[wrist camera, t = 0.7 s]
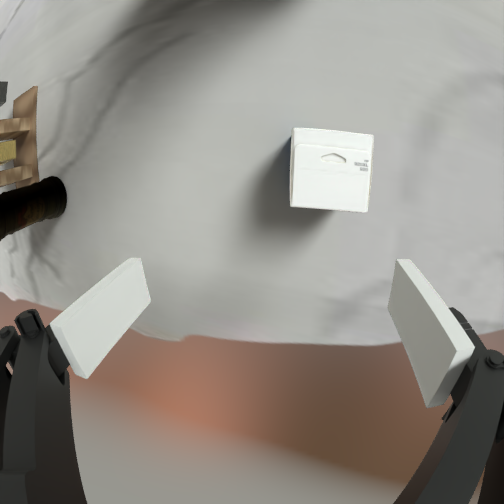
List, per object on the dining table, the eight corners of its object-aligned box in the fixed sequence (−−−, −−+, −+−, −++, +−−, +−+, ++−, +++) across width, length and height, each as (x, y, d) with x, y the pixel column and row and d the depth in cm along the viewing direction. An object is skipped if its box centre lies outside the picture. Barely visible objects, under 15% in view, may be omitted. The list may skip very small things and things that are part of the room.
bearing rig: (17, 100, 38) (-29, 103, 24) (37, 86, 36) (-13, 85, 22) (20, 191, 46) (-26, 207, 32) (39, 186, 45) (-12, 202, 31)
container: (44, 213, 47) (-16, 240, 30) (43, 174, 44) (-21, 193, 27) (68, 220, 46) (3, 251, 30) (67, 177, 43) (-4, 198, 26)
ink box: (290, 192, 38) (287, 209, 27) (291, 133, 35) (289, 125, 24) (349, 195, 37) (369, 214, 26) (352, 137, 34) (374, 133, 23)
